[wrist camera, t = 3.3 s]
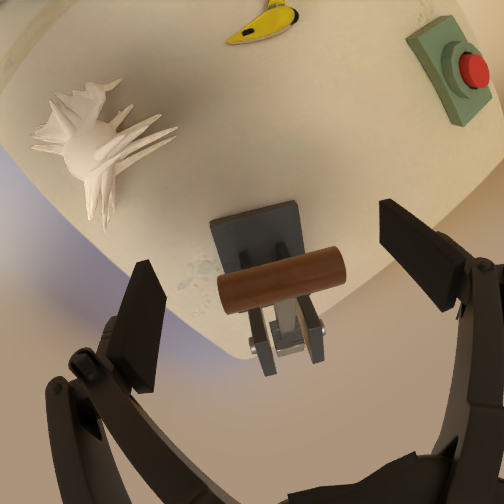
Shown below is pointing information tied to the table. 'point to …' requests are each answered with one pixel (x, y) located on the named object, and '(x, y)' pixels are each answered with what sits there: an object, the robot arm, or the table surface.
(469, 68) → the button
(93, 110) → the spiky ball
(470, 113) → the button box
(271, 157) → the table surface
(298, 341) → the lever
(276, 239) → the bracket
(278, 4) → the twin pod spaceship
